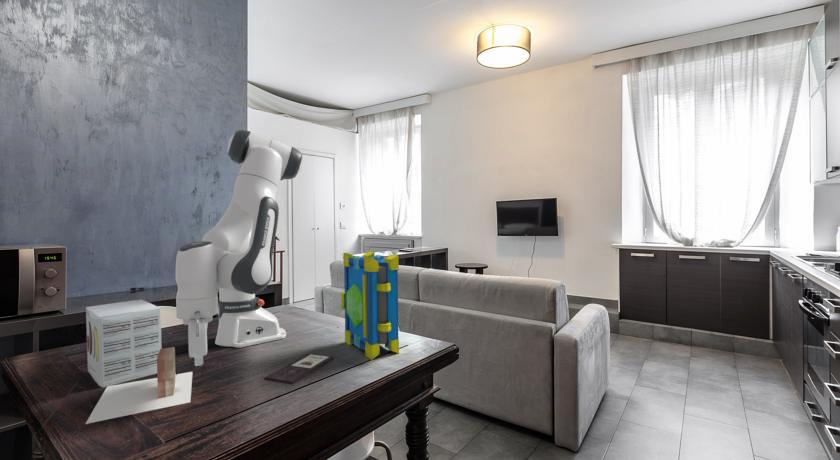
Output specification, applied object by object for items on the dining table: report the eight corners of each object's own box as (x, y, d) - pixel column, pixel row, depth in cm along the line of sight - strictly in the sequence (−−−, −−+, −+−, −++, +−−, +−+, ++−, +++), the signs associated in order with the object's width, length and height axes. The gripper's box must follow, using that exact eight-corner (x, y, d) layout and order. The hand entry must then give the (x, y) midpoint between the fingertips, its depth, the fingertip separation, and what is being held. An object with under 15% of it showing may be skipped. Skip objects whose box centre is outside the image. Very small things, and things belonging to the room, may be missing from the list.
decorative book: (374, 335, 136) (373, 250, 136) (408, 353, 117) (407, 255, 116) (336, 342, 128) (334, 252, 128) (365, 363, 109) (364, 258, 108)
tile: (175, 382, 96) (174, 346, 96) (173, 395, 89) (172, 356, 89) (161, 385, 95) (160, 348, 94) (157, 398, 88) (156, 359, 87)
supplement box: (85, 373, 104) (83, 306, 104) (144, 359, 115) (142, 298, 114) (100, 391, 93) (98, 316, 93) (163, 373, 104) (162, 307, 103)
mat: (192, 373, 103) (192, 371, 103) (190, 404, 86) (190, 402, 86) (107, 388, 94) (107, 386, 94) (85, 426, 77) (85, 423, 77)
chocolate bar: (264, 377, 99) (307, 354, 116) (264, 381, 99) (307, 357, 116) (293, 381, 96) (332, 357, 113) (293, 385, 96) (333, 360, 113)
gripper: (213, 315, 87) (214, 375, 88) (211, 299, 105) (212, 349, 105) (180, 319, 84) (182, 381, 84) (184, 302, 102) (185, 354, 102)
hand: (198, 363), depth 95 cm, fingers closed
